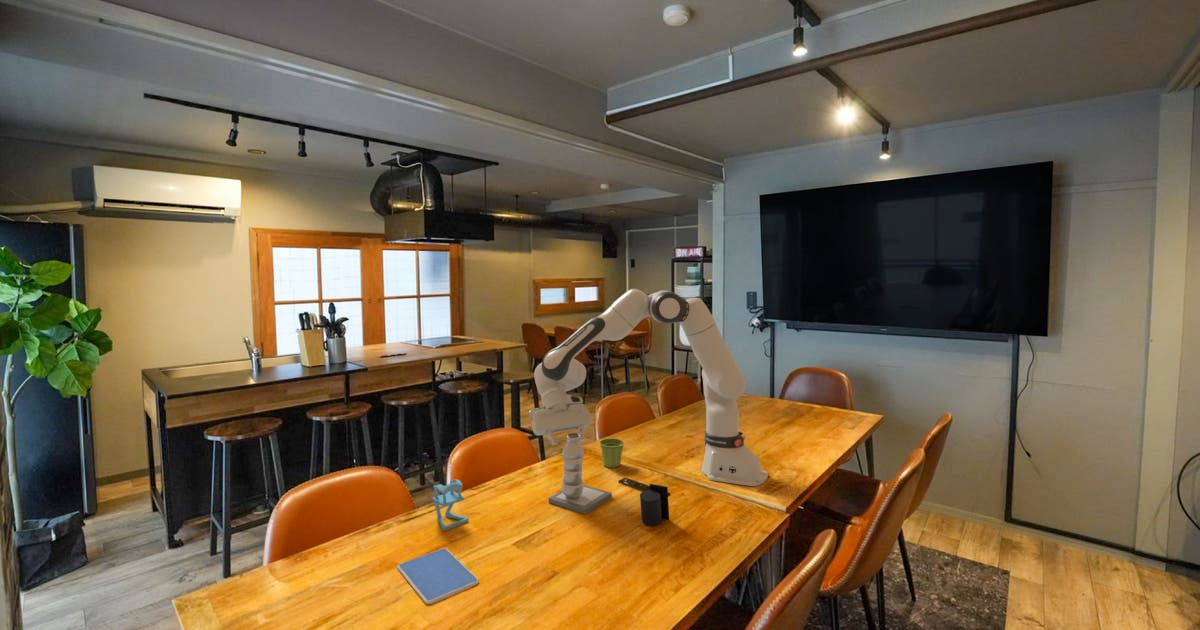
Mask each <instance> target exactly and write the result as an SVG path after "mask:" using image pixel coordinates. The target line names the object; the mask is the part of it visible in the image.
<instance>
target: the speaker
mask: <svg viewBox="0 0 1200 630" xmlns="http://www.w3.org/2000/svg"><path fill="white" fill-rule="evenodd" d="M668 490H669V488H668V486H666V485H660V484H654V483H649V489H646V490H643V491H641V492H640V494H639V501H640V513H641V514H640V515H641V516H640V517H641V522H642V524H643V525H646V526H648V527H656V526H659V525H660V524H662V521H663V520H666V521H669V520H670V512H669V511H670V506H669V491H668Z"/></svg>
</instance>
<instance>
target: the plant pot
mask: <svg viewBox="0 0 1200 630" xmlns="http://www.w3.org/2000/svg"><path fill="white" fill-rule="evenodd" d="M598 443H599V446H600V449H601V455H602V460H603V461H602V462H603V466H605V467H606V468H610V469H611V468H612V469H614V468H617V467H620V466H621V462H622V455H623V448H624V446H625V444H626V442H625V440H623V439H621V438H614V437H608V438H603V439H600V441H599V442H598Z"/></svg>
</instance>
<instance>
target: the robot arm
mask: <svg viewBox="0 0 1200 630" xmlns="http://www.w3.org/2000/svg"><path fill="white" fill-rule="evenodd" d="M645 318H651V319H652V320H654V321H656V322H658V323H661V324H665V325H666V324H667V325H669V324H676V323H679V325H680V326H681V328H682V330H683V332H684V334H685V337H686V338H687V341H688V343H689V346H690V348H691V350H692V352H693V354H694V356H695V358H696V360H697V361H698V363H699V365H700V366H701V368H702V369H701V376H702V382H703V383H702V384H703V394H704V402H705V408H706V410H705V411H706V415H705V416H706V419H705V422H706V427H705V429H706V430H705V431H704V445H705V449H704V458H703V461H702V462H703V463H702V466H701V473H702V474H704V475H705V476H707V478H708V479H709V480H710V481H714V482H719V483H721V482H722V483H726V484H735V485H740V486H748V487H758V486H761V485H763V484H764V483H765V482H767V480H768V477H769V475H768V472H767V471H766V470H764V469H762V466H761V465H762V464H761V461H760V458H759V457H758V456H757V455H756V454H755V453H754V452H752V451H751V449H749V448H748V447H747V446H746V445H745V439H746V435H744V436H743V435H741V434H740V433H739V432H740V431H739V426H740V425H739V423H740V422H739V421H740V420H739V419H740V416H739V415H740V414H739V413H740V412H739V408H738V404H737V398H739V397H741V396H742V395H743V394H744V393H745V391H746V389H747V380H746V377H745V376H744V374H743V373H742V370H741V369H740V366H739V365H738V363H737V362H736V360H735V358H734V356H733V354H732V352H731V351H730V349H729V348H728V346H727V345H726V342H725V341H724V339H723V336H722V334H721V332H720V329H719V328H718V325H717V323H716V320H715V319H714V317H713V315H712V313H711V312H710V309H709V308H708V306H707V305H706V304H705V302H704V301H703V300H702V299H701V298H699V297H690V298H687V299H684V298H682V297H681V295H678V294H677V293H675V292H673V291H670V290H665V289H663V290H656V291H654V292H650V293H647V294H646V293H644V291H642V290H640V289H638V288H631V289H629V290H627V291H625V292H624V293H623V294H621V296H619V297H618V298H617V299H616V300H614V301H613V303H612V304H611V305H610V306H609V307H608V308H607V309H606V310H605V311H603V312H602V313H601V314H600V315H598V316H596V317H594V318H591V319H589V320H588V321H587V322H585V323H584V324H583V325H581V327H579V328H578V329H577V330H575V331H574V332H573V333H572V334H571V335H570V336H569V337H567V338H566V339H565V340H564V341H563V342H562V343H560V344H559V345H558V346H556V347H554V348H552V349H550V350H549V351H548V352H547V353H545V355H544V357H543V359H542V361H541V363H539V364H538V365H537V366H536V367H535V369H534V373H533V375H534V382H535V385H536V389H537V393H538V394H539V396H540V402H541V404H542V406H540V407H532V409H530V410H529V411H528V416H529V419H530V421H531V426H532V431H533V434H534V435H535V436H543V435H544V436H545V438H547V439H548V441H550V442H551V446H557V445H558V444H559V440H558V437H554V436H553V435H552V434H557V433H562V432H568V431H575V430H578V432H579V433H578V434H579V436H580V442H582V441H584V440H585V429H587V428H589V427H591V424H592V422H593V419H592V415H591V412H590V410H589V409H588V407H587V406H586V405H585V404H584V403H583V402H584V400H583V398H582V397H581V396H576V395H572V394H568V393H567V392H570V391H573V390H575V389H577V388H579V387H580V386H582V385H583V384H584V383H585V381H586V378H587V374H588V371H587V367H586V366H585V365H584V364H583V363H582V362H580V361H579V360H577V359H575V357H577V356H578V355H579V354H580V353H581V352H583V350H584V349H585V348H587V347H588V346H589V345H590V344H592V343H593V342H596V341H611V342H612V341H613V342H616V341H620V340H622V339H624V338H625V337H627V336H628V335H629V334H631V332H632V330H634V329H635V328H636V326H637V325H638V324H639V323H640V322H641V321H642V320H644V319H645Z"/></svg>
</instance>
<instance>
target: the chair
mask: <svg viewBox="0 0 1200 630" xmlns="http://www.w3.org/2000/svg"><path fill="white" fill-rule="evenodd" d="M463 487H464V486H463V483H462V482H461V481H460V479H452V480H450V481H449V484H446V485H443V484H441V483H440V484H436V485H433V490H434V493H435V495H434V496H433V497H432V502H433V504H434V507H435V512H436V515H437V517H436V519H437V520H438V523H439V525H440V528H441V531H447V530H451V529H453V528H455V527H458V526H460V525H463V524H465V523H468V522H469V518H468V517H466V516H464V515H463V516H462V515H459V514H455V513H452V512H451V511H452V508H453V506H454V504H455V503H456V504H457V503H460V502H462V501H465V496H463V495H462V491H463V490H462V489H463ZM455 490H458V491H457V492H456V491H455ZM439 492H440V493H441V494H439ZM440 507H442V508H446V507H447V508H446V511H445V515H444V516H445V517H447V518H449V519H455V520H458V521H455V522H452V523H450V524H447V525H445V523H444V519H443V517H442V514H441V513H442V512H441V509H440Z"/></svg>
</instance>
